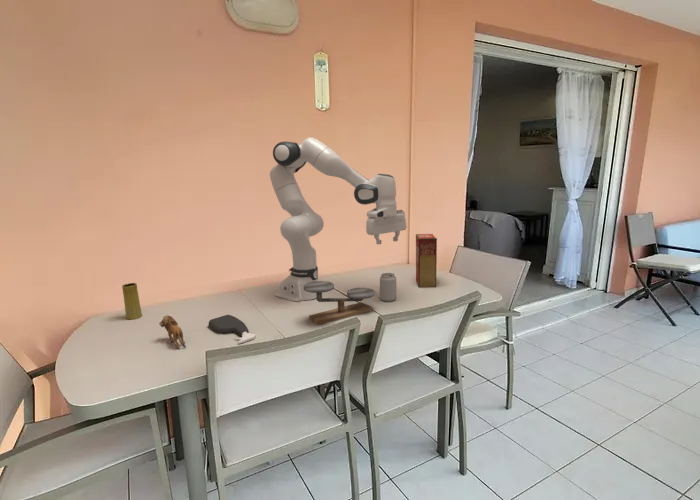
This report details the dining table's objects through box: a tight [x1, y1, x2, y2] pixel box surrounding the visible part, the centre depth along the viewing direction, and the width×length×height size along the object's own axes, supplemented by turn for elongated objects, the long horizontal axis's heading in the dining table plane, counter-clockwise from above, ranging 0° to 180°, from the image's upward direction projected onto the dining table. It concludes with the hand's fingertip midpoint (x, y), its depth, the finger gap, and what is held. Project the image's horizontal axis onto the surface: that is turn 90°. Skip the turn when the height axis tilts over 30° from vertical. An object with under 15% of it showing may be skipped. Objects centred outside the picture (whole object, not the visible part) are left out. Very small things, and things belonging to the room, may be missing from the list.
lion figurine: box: [158, 315, 187, 350], centre depth 138 cm, size 15×5×9 cm, turn 49°
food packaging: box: [415, 233, 438, 288], centre depth 197 cm, size 13×9×25 cm
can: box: [379, 272, 397, 302], centre depth 177 cm, size 8×8×12 cm
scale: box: [303, 280, 376, 326], centre depth 160 cm, size 12×32×15 cm, turn 123°
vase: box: [121, 282, 143, 321], centre depth 163 cm, size 6×6×14 cm
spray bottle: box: [208, 314, 257, 345], centre depth 147 cm, size 3×11×24 cm
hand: (387, 242), depth 172 cm, fingers open, 8 cm apart
